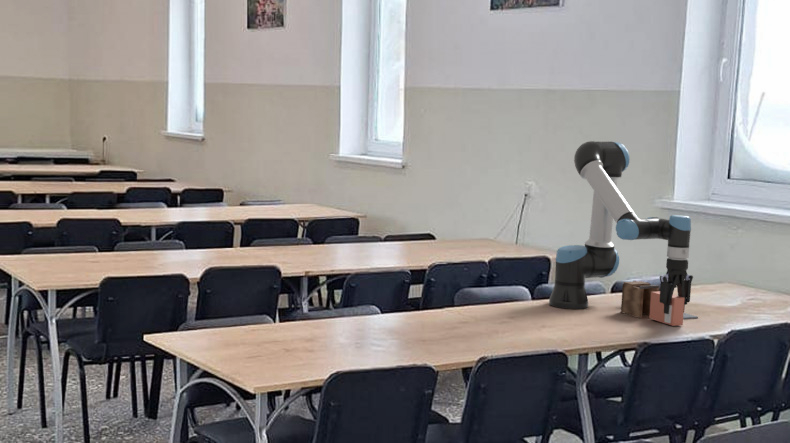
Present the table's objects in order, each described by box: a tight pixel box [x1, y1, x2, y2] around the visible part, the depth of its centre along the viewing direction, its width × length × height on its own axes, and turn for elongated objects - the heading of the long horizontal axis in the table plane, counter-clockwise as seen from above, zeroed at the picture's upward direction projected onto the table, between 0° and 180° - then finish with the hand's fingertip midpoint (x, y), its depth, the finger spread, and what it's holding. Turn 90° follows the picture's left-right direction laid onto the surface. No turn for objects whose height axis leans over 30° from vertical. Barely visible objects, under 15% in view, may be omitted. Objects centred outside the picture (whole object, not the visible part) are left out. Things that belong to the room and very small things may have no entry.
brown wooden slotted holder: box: [620, 280, 660, 319], centre depth 373 cm, size 11×8×12 cm
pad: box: [683, 312, 699, 320], centre depth 374 cm, size 14×10×1 cm
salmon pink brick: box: [649, 291, 685, 327], centre depth 359 cm, size 13×4×10 cm, turn 24°
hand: (673, 321), depth 356 cm, fingers closed on salmon pink brick, 4 cm apart
